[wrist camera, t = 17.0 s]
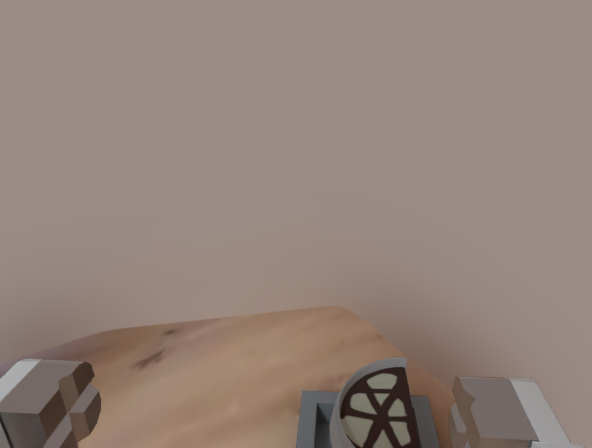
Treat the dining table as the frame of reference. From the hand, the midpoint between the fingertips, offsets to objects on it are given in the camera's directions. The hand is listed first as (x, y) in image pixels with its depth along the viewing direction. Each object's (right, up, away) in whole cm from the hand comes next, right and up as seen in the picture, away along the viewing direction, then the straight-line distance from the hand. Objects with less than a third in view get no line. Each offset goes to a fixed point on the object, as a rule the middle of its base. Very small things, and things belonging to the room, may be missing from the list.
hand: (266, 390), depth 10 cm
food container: (+7, -19, +25) cm, 32 cm away
